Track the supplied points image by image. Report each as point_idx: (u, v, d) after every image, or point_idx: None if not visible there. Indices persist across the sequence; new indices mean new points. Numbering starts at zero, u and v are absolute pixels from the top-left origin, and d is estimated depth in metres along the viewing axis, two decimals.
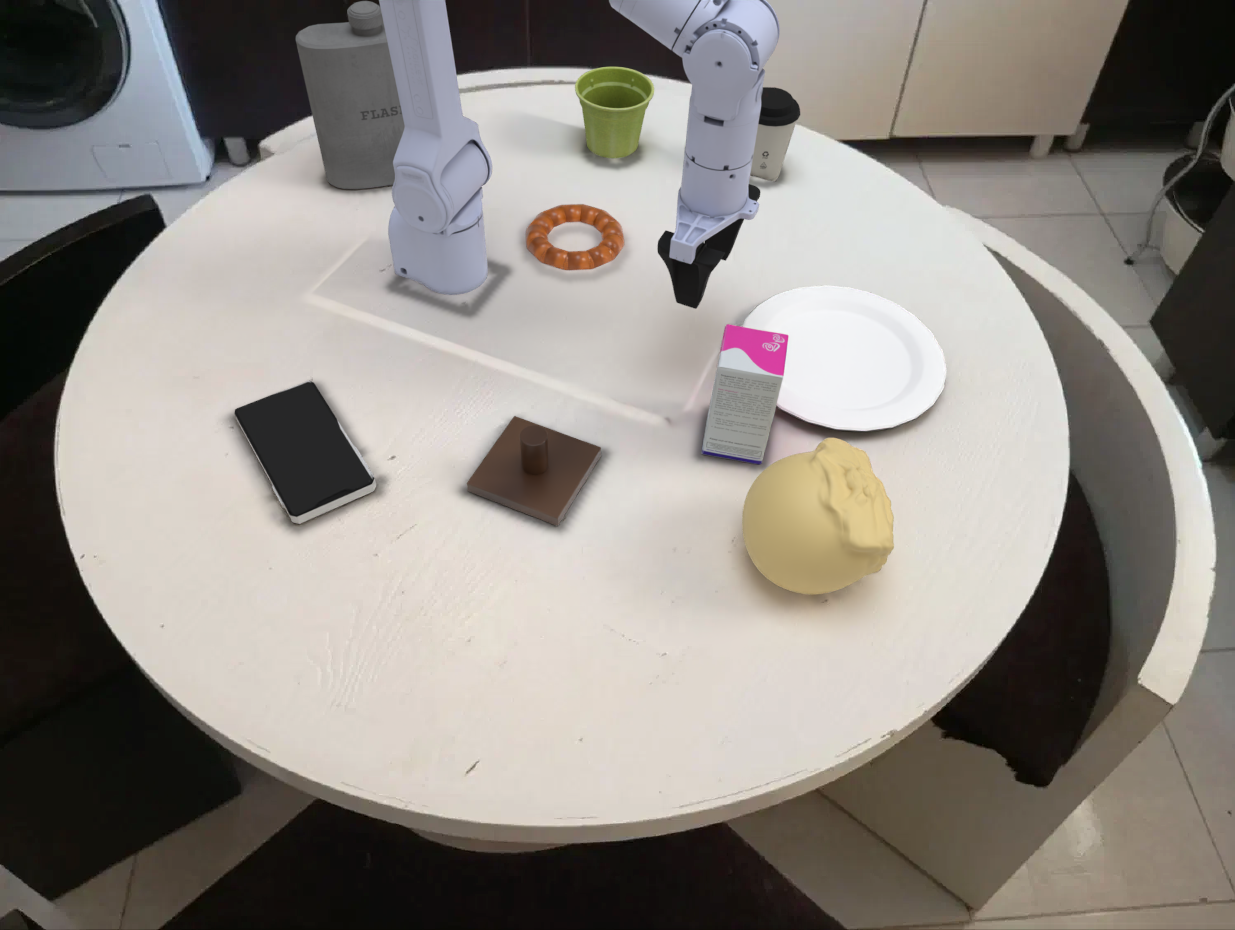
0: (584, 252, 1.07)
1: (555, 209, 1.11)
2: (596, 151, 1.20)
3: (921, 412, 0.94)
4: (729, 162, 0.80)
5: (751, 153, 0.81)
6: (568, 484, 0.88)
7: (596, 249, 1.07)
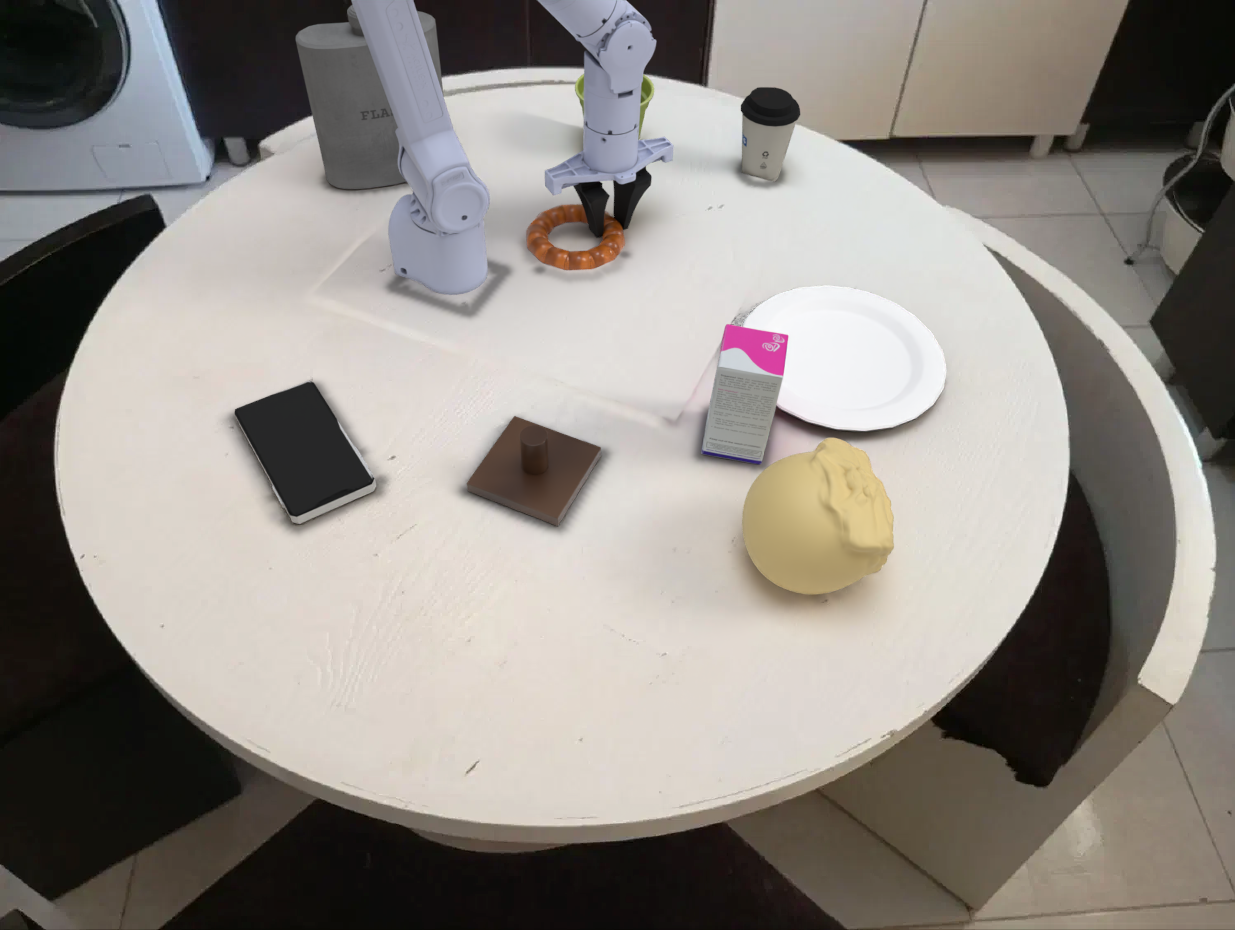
0: (585, 252, 1.07)
1: (555, 209, 1.11)
2: None
3: (921, 412, 0.94)
4: (636, 120, 1.00)
5: None
6: (568, 484, 0.88)
7: (597, 249, 1.07)
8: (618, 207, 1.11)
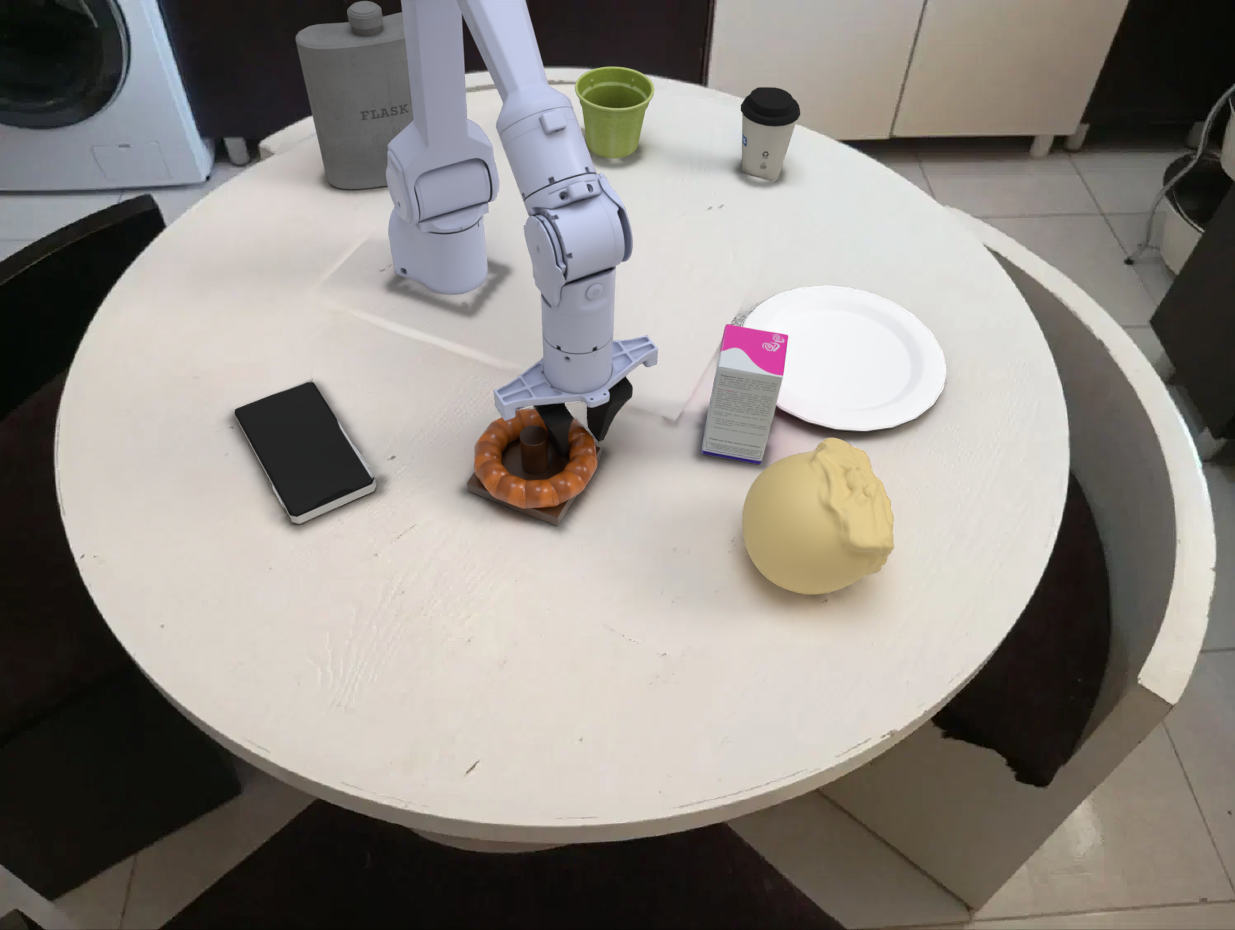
0: (546, 483, 0.85)
1: None
2: (596, 151, 1.20)
3: (921, 412, 0.94)
4: (561, 344, 0.77)
5: (591, 345, 0.77)
6: None
7: (561, 478, 0.85)
8: (592, 415, 0.89)
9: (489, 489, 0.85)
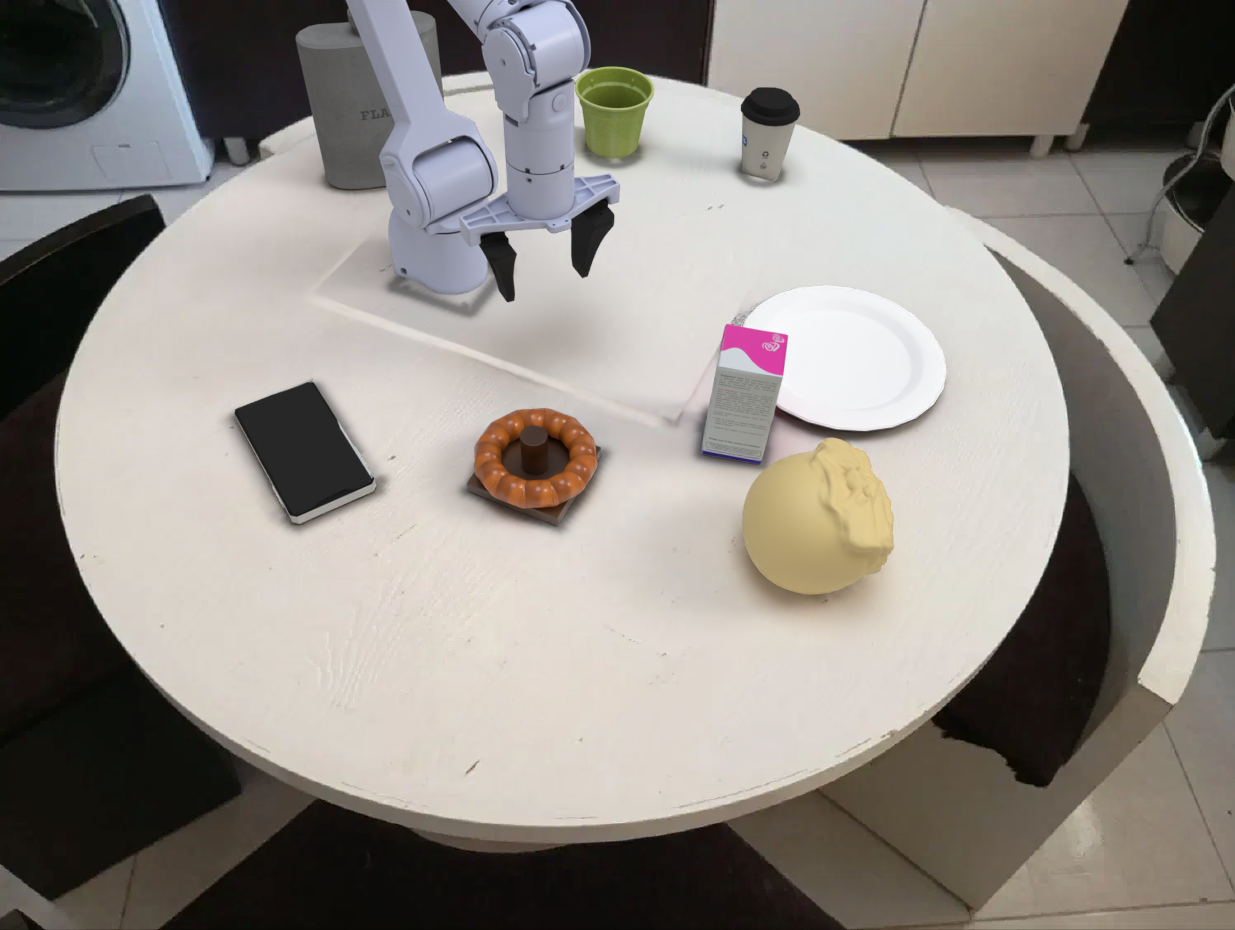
0: (546, 483, 0.85)
1: (511, 417, 0.89)
2: (596, 151, 1.20)
3: (921, 412, 0.94)
4: (530, 166, 0.80)
5: (558, 163, 0.80)
6: None
7: (561, 478, 0.85)
8: (576, 250, 0.92)
9: (489, 489, 0.85)
